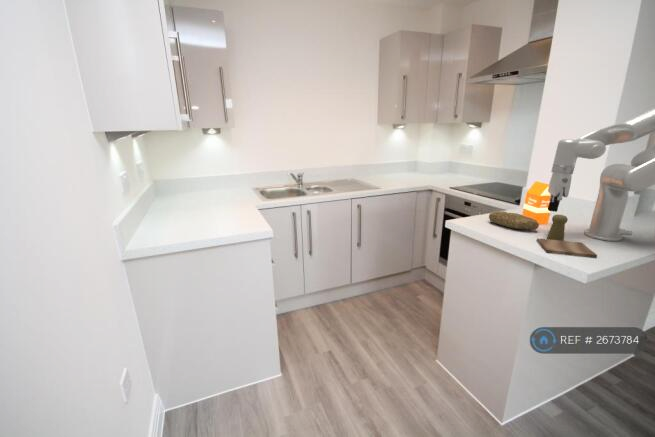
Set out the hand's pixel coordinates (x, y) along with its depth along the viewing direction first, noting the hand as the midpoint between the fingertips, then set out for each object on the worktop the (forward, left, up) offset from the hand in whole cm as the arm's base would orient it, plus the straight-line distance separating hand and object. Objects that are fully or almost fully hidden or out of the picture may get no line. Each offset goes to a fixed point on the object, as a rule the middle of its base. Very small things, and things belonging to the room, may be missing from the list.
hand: (552, 210), depth 136 cm
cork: (-1, +8, -11) cm, 14 cm away
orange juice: (0, -18, -11) cm, 21 cm away
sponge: (+13, -6, -11) cm, 18 cm away
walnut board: (-1, +18, -11) cm, 21 cm away
